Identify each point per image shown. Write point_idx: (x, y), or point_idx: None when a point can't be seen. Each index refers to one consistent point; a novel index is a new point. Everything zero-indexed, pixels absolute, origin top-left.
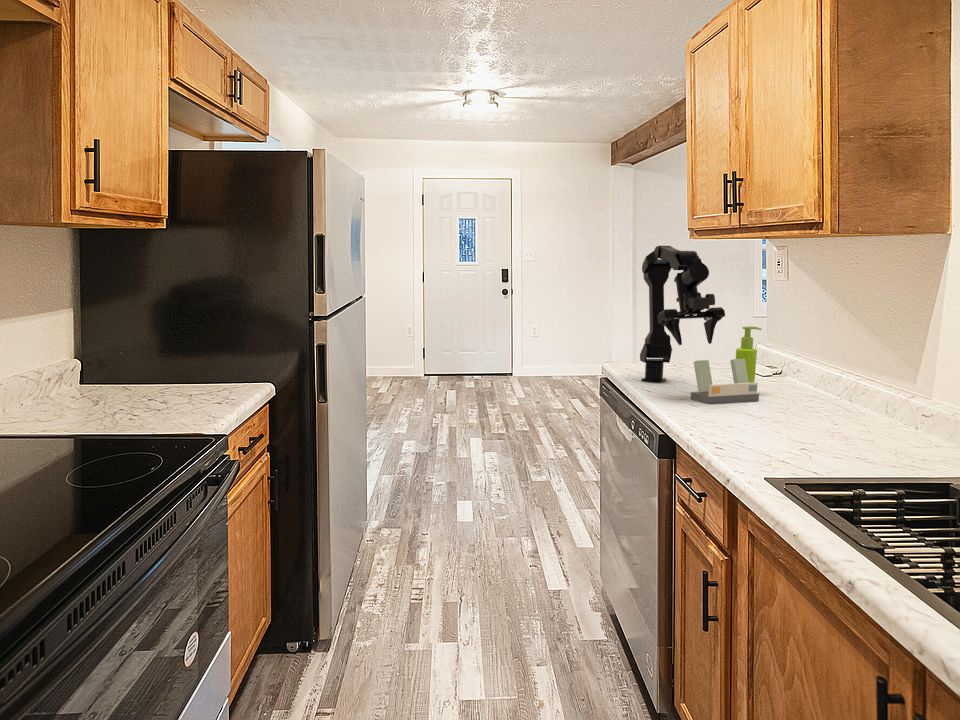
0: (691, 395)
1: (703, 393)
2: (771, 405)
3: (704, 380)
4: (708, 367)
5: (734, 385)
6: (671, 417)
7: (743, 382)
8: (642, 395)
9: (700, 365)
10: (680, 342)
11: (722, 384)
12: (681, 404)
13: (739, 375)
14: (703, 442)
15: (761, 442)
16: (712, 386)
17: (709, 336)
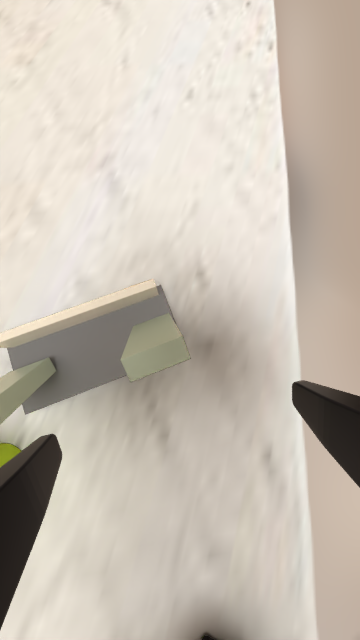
0: None
1: None
2: (16, 286)
3: (157, 324)
4: (130, 346)
5: (73, 308)
6: (275, 158)
7: (15, 374)
8: None
9: (166, 335)
10: (312, 384)
11: (111, 298)
12: (224, 282)
13: (10, 381)
14: (263, 7)
15: (179, 7)
16: (148, 281)
17: (12, 493)
